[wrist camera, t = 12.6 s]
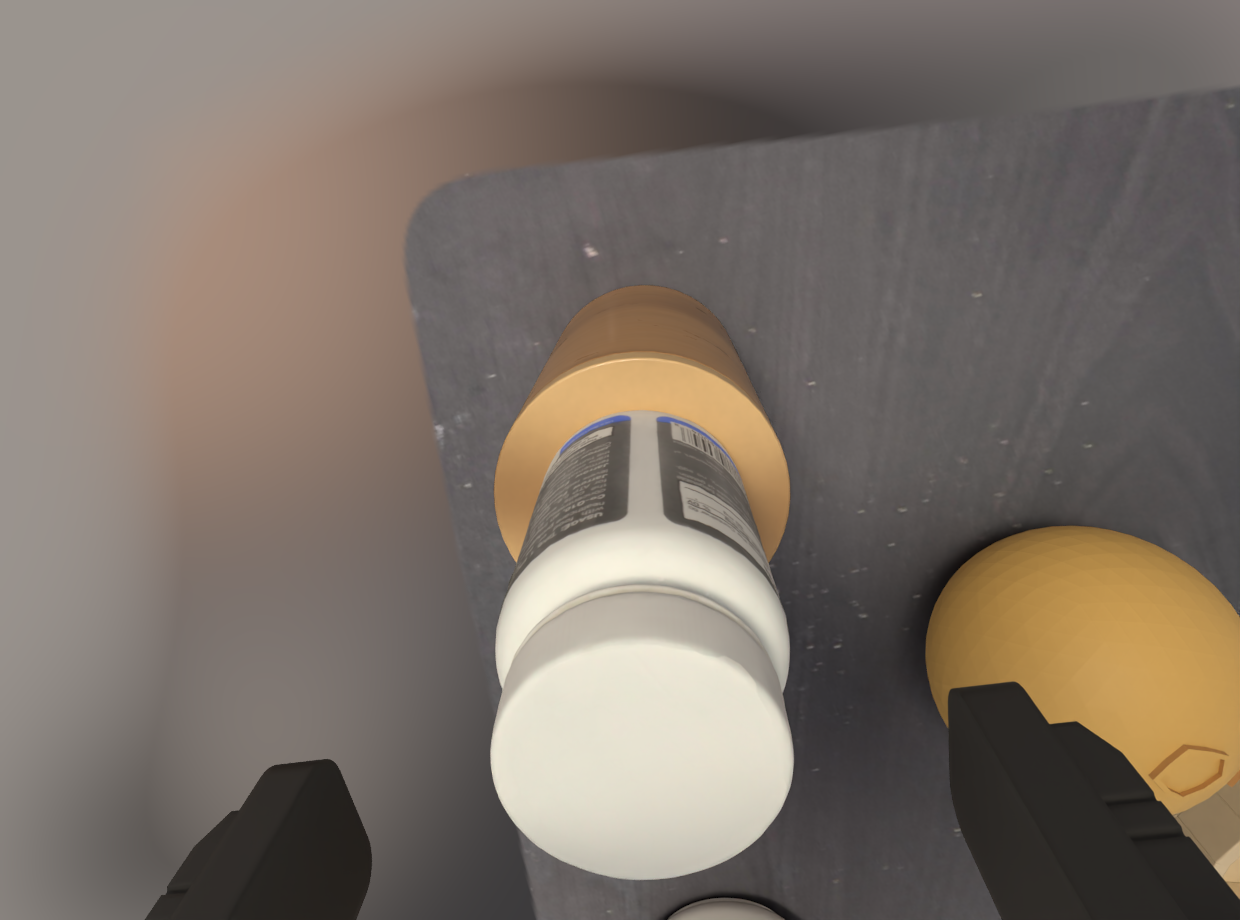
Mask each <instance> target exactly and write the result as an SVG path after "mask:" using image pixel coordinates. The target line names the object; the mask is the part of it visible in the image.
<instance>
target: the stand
mask: <svg viewBox="0 0 1240 920" xmlns="http://www.w3.org/2000/svg"><path fill="white" fill-rule="evenodd" d="M634 410H649V411H658V412H664V413H669V414H672V415H676V416H679V417H681V418H684V419H687V420H689V421H692V422H693V423H695V424H697V425H699V426H700V427H702V428H704V429H705V430H706V431H707V432H709V433H710V434H711V435H712V436H713V437H714V438H715V439H717V440H718V441H719V442H720V444H721V445H722V446H723V447H724V448H725V450H726V451H727V452H728V454H729V455H730V457H731V458H732V460H733V462H734V464H735V465H736V468H737V470H738V472H739V475H740V477H741V480H742V483H743V486H744V489H745V492H746V495H747V498H748V501H749V505H750V508H751V512H752V515H753V518H754V520H755V523H756V525H757V529H758V532H759V535H760V538H761V542H762V546H763V549H764V552H765V555H766V558H767V561H768V564H769V562H770V560H771V559H772V557H773V555H774V553H775V552H776V550H777V548H778V546H779V543H780V541H781V538H782V536H783V534H784V531H785V527H786V523H787V519H788V515H789V506H790V478H789V472H788V467H787V462H786V459H785V456H784V453H783V450H782V447H781V444H780V442H779V440H778V438H777V436H776V434H775V431H774V429H773V427H772V425H771V423H770V421H769V419H768V417H767V415H766V413H765V411H764V409H763V406H762V404H761V402H760V400H759V398H758V396H757V394H756V392H755V390H754V388H753V386H752V383H751V381H750V379H749V377H748V375H747V373H746V371H745V369H744V367H743V365H742V363H741V360H740V358H739V356H738V354H737V352H736V350H735V348H734V346H733V344H732V342H731V340H730V338H729V336H728V334H727V332H726V330H725V329H724V327H723V326H722V324H721V323H720V321H719V320H718V319H717V318H716V317H715V316H714V315H713V313H712V312H711V311H710V310H708V309H707V308H706V307H705V306H704V305H702V304H701V303H700V302H698V301H697V300H695V299H693V298H692V297H690V296H688V295H686V294H684V293H681V292H679V291H676V290H673V289H669V288H666V287H660V286H652V285H638V286H629V287H625V288H621V289H617V290H614V291H611V292H609V293H606V294H604V295H602V296H600V297H598V298H596V299H595V300H593V301H592V302H590V303H589V304H588V305H586V306H585V307H584V308H582V309H581V310H580V311H579V312H578V313H577V314H576V315H575V316H574V317H573V319H572V320H571V321H570V323H569V324H568V325H567V326H566V328H565V330H564V332H563V333H562V335H561V337H560V339H559V340H558V342H557V344H556V346H555V348H554V350H553V352H552V353H551V355H550V357H549V359H548V361H547V363H546V364H545V366H544V368H543V370H542V372H541V374H540V376H539V377H538V379H537V381H536V383H535V385H534V387H533V389H532V390H531V392H530V394H529V396H528V398H527V400H526V401H525V403H524V405H523V407H522V409H521V411H520V413H519V414H518V416H517V418H516V420H515V422H514V424H513V425H512V427H511V429H510V431H509V433H508V435H507V437H506V439H505V441H504V444H503V447H502V449H501V452H500V454H499V458H498V463H497V467H496V471H495V482H494V501H495V510H496V515H497V520H498V525H499V527H500V530H501V533H502V536H503V539H504V541H505V543H506V545H507V547H508V549H509V551H510V553H511V555H512V557H513V558H514V560H515V561H516V563H517V560H518V557H519V554H520V551H521V548H522V545H523V542H524V539H525V536H526V532H527V529H528V526H529V522H530V519H531V516H532V513H533V510H534V507H535V504H536V501H537V498H538V495H539V492H540V489H541V486H542V483H543V480H544V477H545V475H546V472H547V470H548V468H549V466H550V464H551V462H552V460H553V458H554V457H555V455H556V453H557V452H558V451H559V449H560V448H561V447H562V446H563V445H564V443H565V442H566V441H567V440H568V439H569V438H570V437H571V436H572V435H574V434H575V433H576V432H577V431H579V430H580V429H581V428H583V427H585V426H586V425H587V424H589V423H591V422H593V421H595V420H597V419H599V418H601V417H604V416H607V415H610V414H614V413H618V412H625V411H634Z"/></svg>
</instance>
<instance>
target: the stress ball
mask: <svg viewBox="0 0 1240 920" xmlns="http://www.w3.org/2000/svg"><path fill="white" fill-rule="evenodd" d="M925 658H926V666H927V675H928V679H929V683H930V688H931V692H932V696H933V698H934V700H935V703H936V705H937V708H938V710H939V713H940V715H941V717H942V718H943V720H944V722H945V724H946V726H947V727H948V694H949V691H950V690H951V689H952V688H960V687H969V686H977V685H986V684H995V683H1003V682H1012V681H1014V682H1017V683H1019V684H1020V685H1021V686H1022V687H1023V688H1024V689H1025V691H1026V692H1027V693H1028V695H1029V696H1030V698H1031V699H1032V700H1033V702H1034V703H1035V705H1036V706H1037V707H1038V709H1039V710H1040V712H1041V713H1042V715H1043V716H1044V717H1045V719H1046V720H1047V722H1048V723H1049V724H1054V723H1063V722H1073V721H1077V722H1079V723H1080V724H1082V725H1083V726H1084V727H1086V728H1087V729H1089V730H1090V731H1092V732H1093V733H1095V734H1096V735H1098V736H1099V737H1100V738H1102V739H1103V740H1105V741H1106V742H1108V743H1109V744H1111V745H1112V746H1114V747H1115V748H1116V749H1118V750H1119V751H1121V752H1122V753H1123V754H1124V755H1125V757H1126V758H1127V759H1128V760H1129V762H1130V763H1131V764H1132V765H1133V767H1134V768H1135V769H1136V770H1137V772H1138V773H1139V774H1140V775H1141V777H1142V778H1143V779H1144V780H1145V782H1146V783H1147V784H1148V785H1149V787H1150V788H1151V789H1152V790H1153V792H1154V795H1155V798H1156V800H1157V801H1161V802H1162V803H1163V804H1164V805H1165V807H1166V808H1167V809H1168V810H1169V812H1170V813H1171V814H1172V815H1173V814H1177V813H1180V812H1183V811H1186V810H1188V809H1190V808H1192V807H1193V806H1195V805H1197V804H1199V803H1201V802H1203V801H1205V800H1207V799H1209V798H1210V797H1211V796H1212V795H1213V794H1215V793H1216V792H1217V791H1218V790H1220V789H1221V788H1222V787H1223V786H1225V785H1226V784H1228V785H1229V786H1231V787H1233V786H1234V785H1235V784H1236V783H1237V782H1238V781H1239V780H1240V616H1238V614H1237V613H1236V611H1235V609H1234V608H1233V606H1232V605H1231V604H1230V603H1229V602H1228V601H1227V599H1226V598H1225V597H1224V596H1223V595H1222V594H1221V592H1220V591H1219V590H1218V589H1217V588H1216V587H1215V586H1214V585H1213V584H1212V583H1211V582H1210V581H1209V580H1207V579H1206V578H1205V577H1204V576H1203V575H1202V574H1201V573H1199V572H1198V571H1197V570H1196V569H1195V568H1193V567H1192V566H1190V565H1189V564H1187V563H1186V562H1184V561H1183V560H1181V559H1180V558H1178V557H1176V556H1175V555H1173V554H1172V553H1170V552H1168V551H1166V550H1164V549H1162V548H1160V547H1158V546H1157V545H1155V544H1152V543H1150V542H1147V541H1144V540H1142V539H1139V538H1137V537H1134V536H1132V535H1128V534H1124V533H1120V532H1116V531H1113V530H1108V529H1102V528H1095V527H1086V526H1051V527H1045V528H1039V529H1032V530H1028V531H1025V532H1022V533H1019V534H1015V535H1012V536H1009V537H1007V538H1004V539H1002V540H1000V541H997V542H995V543H994V544H992V545H990V546H988V547H987V548H985V549H983V550H982V551H980V552H978V553H977V554H975V555H974V556H973V557H972V558H971V559H969V560H968V561H967V562H966V563H964V564H963V565H962V566H961V567H960V568H959V569H958V571H957V572H956V573H955V574H954V575H953V576H952V577H951V578H950V580H949V581H948V583H947V584H946V586H945V587H944V589H943V590H942V592H941V594H940V596H939V598H938V600H937V602H936V604H935V606H934V609H933V612H932V615H931V618H930V621H929V626H928V631H927V636H926V654H925Z"/></svg>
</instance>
